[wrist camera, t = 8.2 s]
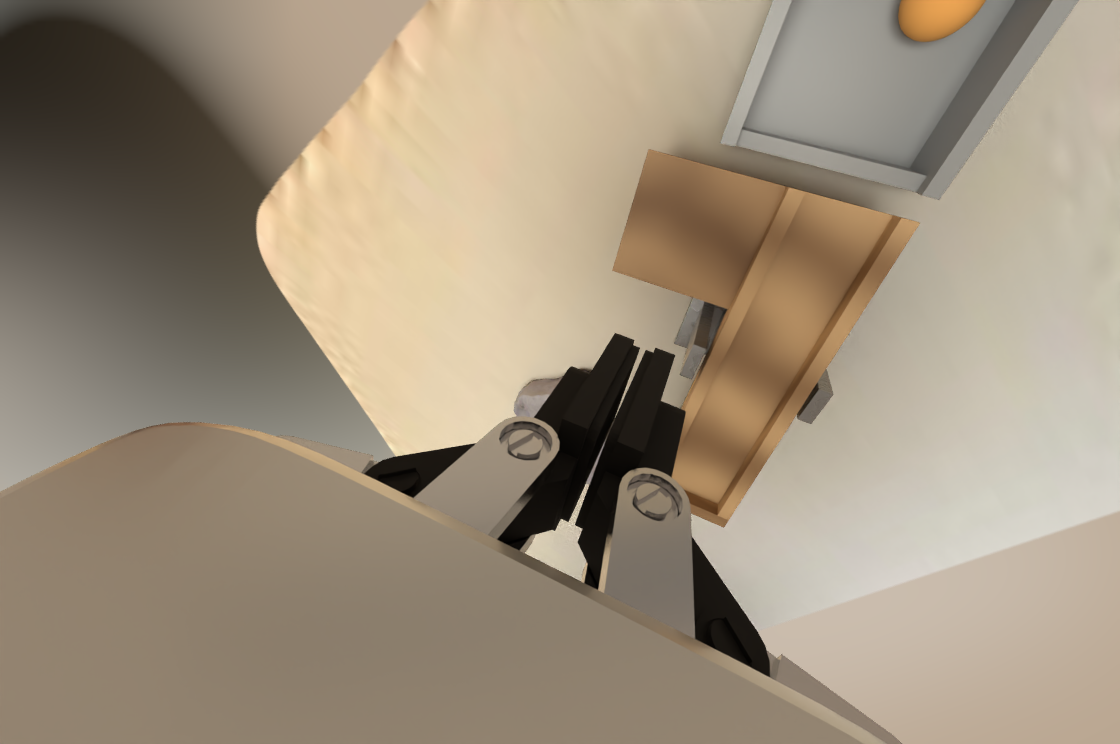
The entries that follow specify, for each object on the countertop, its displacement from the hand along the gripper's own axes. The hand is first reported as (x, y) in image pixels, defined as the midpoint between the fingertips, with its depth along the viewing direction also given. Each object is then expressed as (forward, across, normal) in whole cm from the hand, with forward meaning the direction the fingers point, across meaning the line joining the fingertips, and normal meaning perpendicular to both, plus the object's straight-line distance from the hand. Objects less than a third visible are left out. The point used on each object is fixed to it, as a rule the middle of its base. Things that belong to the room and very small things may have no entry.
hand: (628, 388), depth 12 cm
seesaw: (+18, -3, +7) cm, 20 cm away
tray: (+22, -5, -10) cm, 25 cm away
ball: (+20, -6, -12) cm, 25 cm away
